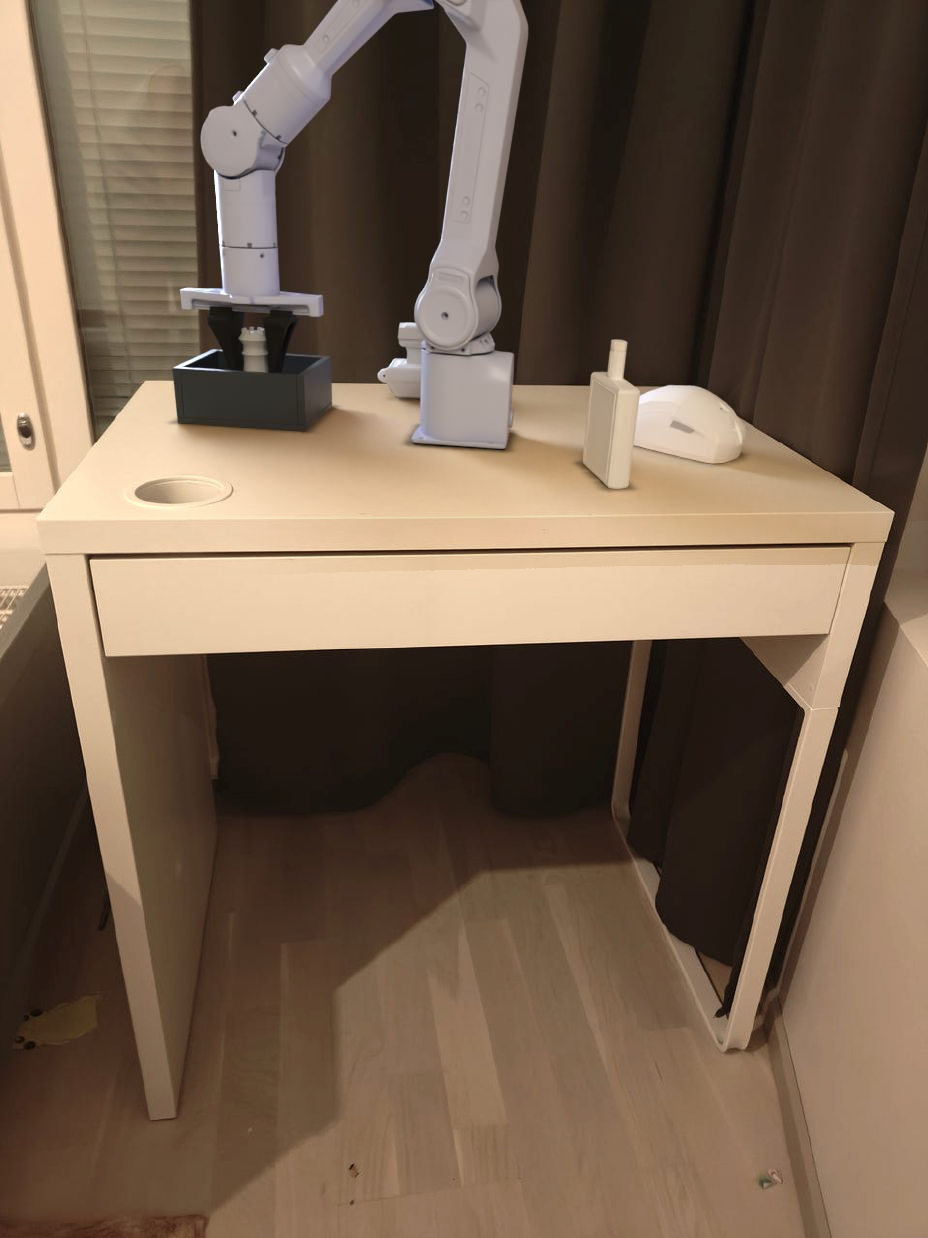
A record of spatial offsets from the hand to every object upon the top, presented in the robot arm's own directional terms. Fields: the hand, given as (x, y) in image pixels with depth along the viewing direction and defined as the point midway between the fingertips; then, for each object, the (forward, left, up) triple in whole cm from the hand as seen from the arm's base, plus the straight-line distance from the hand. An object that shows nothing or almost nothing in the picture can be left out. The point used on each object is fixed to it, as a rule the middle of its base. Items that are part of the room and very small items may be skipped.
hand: (256, 382), depth 98 cm
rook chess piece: (0, 0, -3) cm, 3 cm away
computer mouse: (-45, +2, -4) cm, 45 cm away
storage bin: (0, 0, -3) cm, 3 cm away
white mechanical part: (-15, -14, -4) cm, 21 cm away
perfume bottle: (-37, +14, -4) cm, 40 cm away
